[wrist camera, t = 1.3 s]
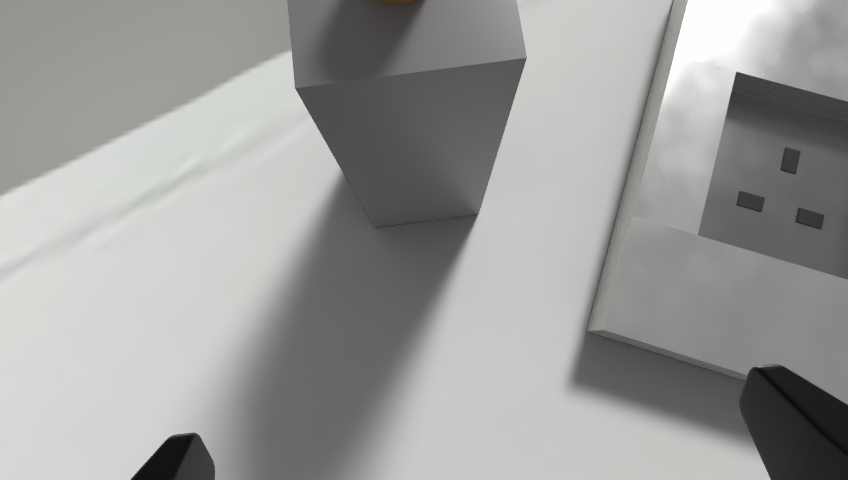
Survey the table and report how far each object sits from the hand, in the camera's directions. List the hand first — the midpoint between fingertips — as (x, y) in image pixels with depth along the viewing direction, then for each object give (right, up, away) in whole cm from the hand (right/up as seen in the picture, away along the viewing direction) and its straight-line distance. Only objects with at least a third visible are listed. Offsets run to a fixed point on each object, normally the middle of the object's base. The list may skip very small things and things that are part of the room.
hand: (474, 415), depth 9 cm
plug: (-1, +6, +15) cm, 16 cm away
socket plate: (+14, +5, +14) cm, 20 cm away
